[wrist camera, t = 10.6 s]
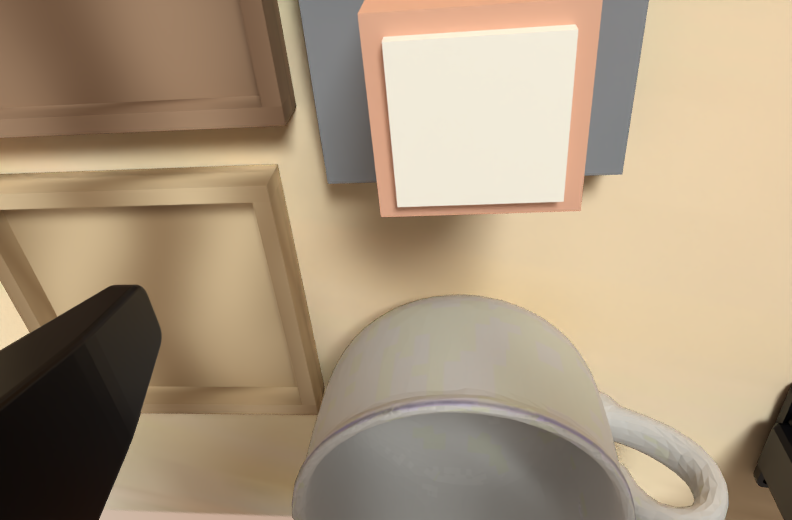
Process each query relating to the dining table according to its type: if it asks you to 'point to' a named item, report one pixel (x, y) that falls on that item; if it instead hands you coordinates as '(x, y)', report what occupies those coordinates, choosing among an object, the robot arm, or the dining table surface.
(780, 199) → the dining table surface
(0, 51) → the walnut tray
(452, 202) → the letter block
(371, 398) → the teacup
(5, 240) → the oak tray
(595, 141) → the slate tile
